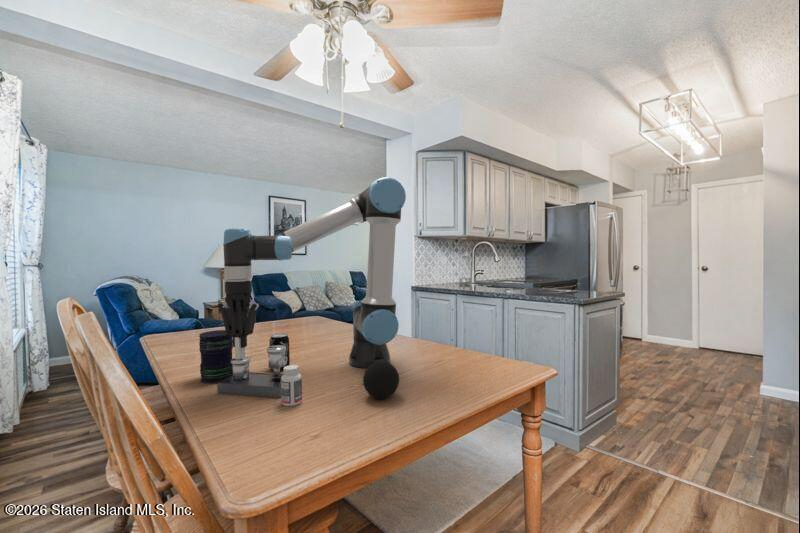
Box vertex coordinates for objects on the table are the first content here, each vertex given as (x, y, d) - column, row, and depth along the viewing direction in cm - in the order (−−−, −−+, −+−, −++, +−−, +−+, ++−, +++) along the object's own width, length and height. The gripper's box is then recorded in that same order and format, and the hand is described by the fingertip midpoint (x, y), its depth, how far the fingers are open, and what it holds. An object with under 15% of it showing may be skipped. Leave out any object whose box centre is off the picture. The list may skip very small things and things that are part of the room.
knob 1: (254, 384, 116) (253, 356, 116) (243, 390, 111) (243, 361, 111) (239, 383, 118) (238, 355, 117) (227, 389, 112) (226, 360, 112)
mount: (298, 384, 116) (298, 374, 116) (279, 397, 106) (279, 386, 106) (241, 380, 121) (240, 370, 121) (217, 393, 110) (217, 382, 110)
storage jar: (207, 386, 116) (205, 338, 115) (195, 379, 123) (194, 333, 122) (239, 377, 123) (238, 332, 123) (226, 371, 130) (225, 328, 129)
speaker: (402, 391, 109) (402, 357, 109) (395, 405, 99) (394, 368, 99) (369, 389, 111) (368, 356, 111) (358, 403, 101) (358, 366, 101)
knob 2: (289, 373, 114) (289, 345, 113) (280, 379, 109) (279, 349, 108) (273, 372, 115) (272, 344, 115) (263, 378, 110) (262, 349, 109)
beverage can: (292, 366, 135) (291, 333, 135) (285, 371, 129) (284, 337, 129) (275, 365, 136) (274, 332, 136) (266, 371, 130) (266, 337, 129)
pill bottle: (300, 397, 106) (299, 363, 105) (304, 404, 101) (303, 368, 101) (280, 401, 103) (279, 365, 103) (283, 408, 99) (282, 371, 98)
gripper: (264, 279, 116) (266, 355, 116) (227, 279, 118) (229, 353, 119) (250, 281, 108) (252, 362, 109) (210, 281, 111) (212, 360, 112)
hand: (240, 357), depth 114 cm, fingers closed
